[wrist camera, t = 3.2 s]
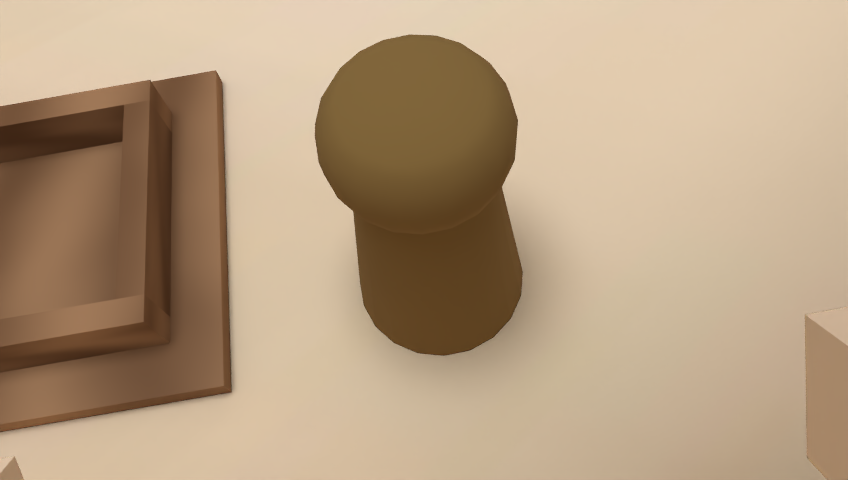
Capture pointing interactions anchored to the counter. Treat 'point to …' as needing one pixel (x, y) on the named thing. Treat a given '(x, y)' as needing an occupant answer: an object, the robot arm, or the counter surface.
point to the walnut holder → (113, 250)
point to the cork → (425, 188)
